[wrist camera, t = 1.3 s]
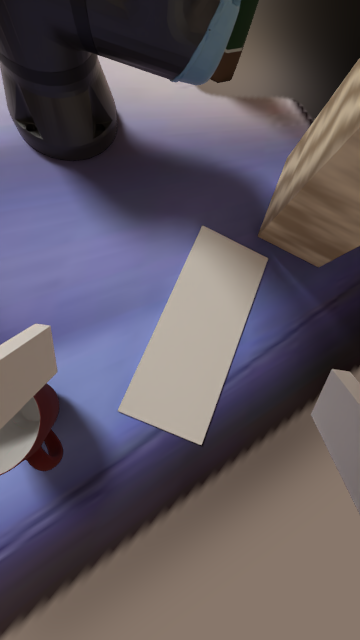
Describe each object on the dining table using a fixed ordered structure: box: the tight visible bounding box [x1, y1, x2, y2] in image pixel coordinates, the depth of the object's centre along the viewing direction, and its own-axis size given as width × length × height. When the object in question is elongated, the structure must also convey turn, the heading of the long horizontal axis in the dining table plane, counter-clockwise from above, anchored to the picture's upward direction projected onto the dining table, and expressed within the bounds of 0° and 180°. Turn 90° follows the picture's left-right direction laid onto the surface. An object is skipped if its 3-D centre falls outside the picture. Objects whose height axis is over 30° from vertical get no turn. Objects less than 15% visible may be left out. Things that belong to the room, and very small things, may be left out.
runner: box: [118, 225, 268, 445], centre depth 34 cm, size 30×12×1 cm, turn 157°
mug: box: [0, 384, 63, 475], centre depth 24 cm, size 11×8×10 cm
